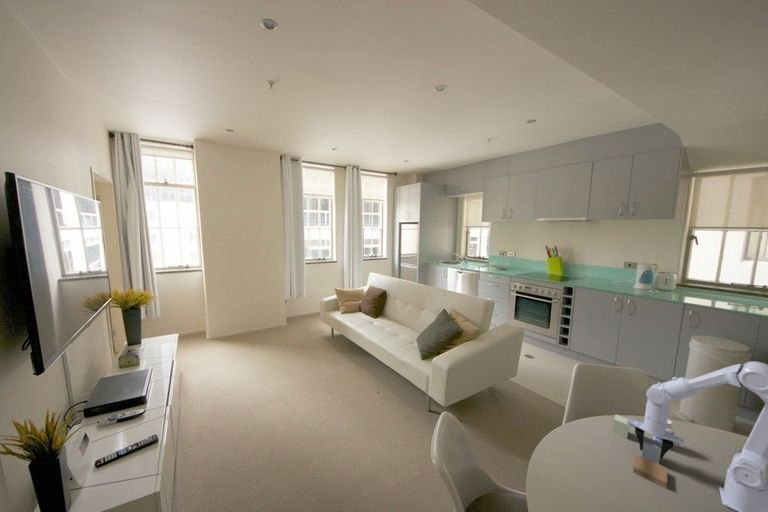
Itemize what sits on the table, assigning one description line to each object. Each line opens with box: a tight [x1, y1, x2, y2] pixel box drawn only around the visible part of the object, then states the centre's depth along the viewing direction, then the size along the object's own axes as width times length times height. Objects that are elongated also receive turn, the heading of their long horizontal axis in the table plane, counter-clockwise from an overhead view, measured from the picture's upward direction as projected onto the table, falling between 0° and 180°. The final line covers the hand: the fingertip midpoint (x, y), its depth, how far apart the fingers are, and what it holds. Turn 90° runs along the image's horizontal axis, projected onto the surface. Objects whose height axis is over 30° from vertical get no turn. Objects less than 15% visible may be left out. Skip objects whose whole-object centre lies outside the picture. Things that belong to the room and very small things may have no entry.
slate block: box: [641, 435, 661, 465], centre depth 100 cm, size 4×4×6 cm
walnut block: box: [632, 453, 668, 489], centre depth 94 cm, size 8×8×2 cm
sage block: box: [612, 413, 630, 440], centre depth 112 cm, size 4×4×6 cm
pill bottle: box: [652, 418, 675, 446], centre depth 107 cm, size 5×5×10 cm
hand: (650, 452), depth 100 cm, fingers closed on slate block, 4 cm apart
